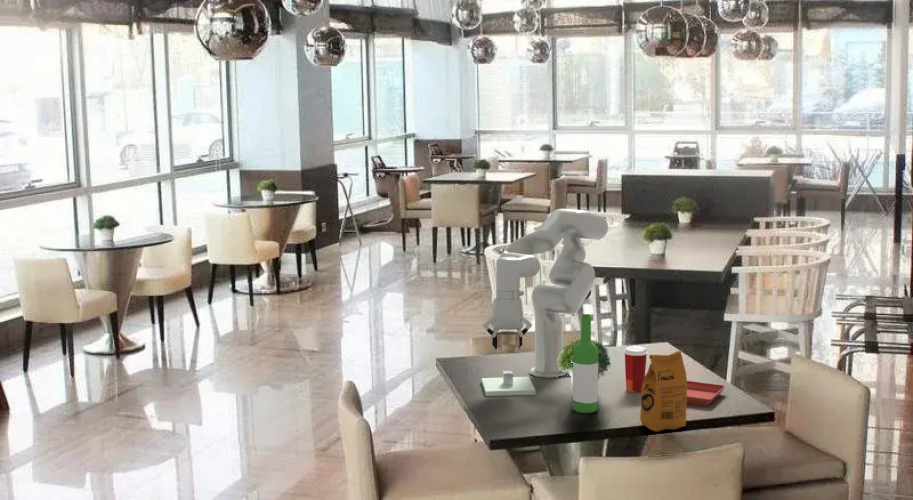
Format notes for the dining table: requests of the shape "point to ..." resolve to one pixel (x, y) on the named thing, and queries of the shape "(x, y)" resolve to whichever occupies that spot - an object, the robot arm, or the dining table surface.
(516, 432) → the dining table surface
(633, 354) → the paper cup
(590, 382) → the wine bottle
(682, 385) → the coffee package
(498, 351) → the maple collar
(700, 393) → the plant saucer
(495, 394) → the post board
